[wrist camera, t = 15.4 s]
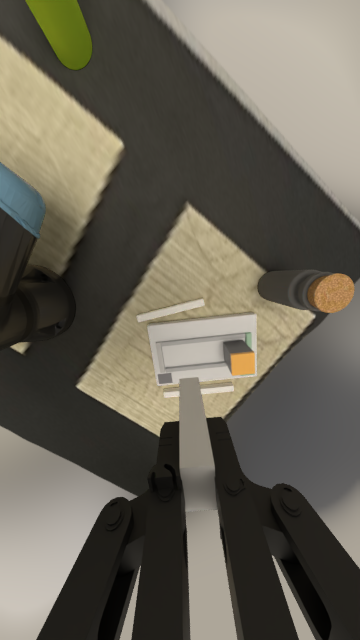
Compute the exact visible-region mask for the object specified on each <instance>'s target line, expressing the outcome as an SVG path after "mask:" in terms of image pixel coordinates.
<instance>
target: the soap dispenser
mask: <svg viewBox="0 0 360 640" xmlns="http://www.w3.org/2000/svg"><path fill="white" fill-rule="evenodd" d="M25 1H26V2H27V4H28V6H29V8H30V10H31V11H32V13H33V15H34V17H35V18H36V20H37V22H38V24H39V25H40V27H41V29H42V31H43V32H44V34H45V36H46V38H47V39H48V41H49V43H50V45H51V46H52V48H53V50H54V52H55V54H56V55H57V57H58V59H59V60H60V62H61V63H62V64H63V65H64V66H66V67H67V68H69V69H72V70H79V69H82V68H83V67H85V66H86V65H87V64H88V62H89V60H90V58H91V54H92V40H91V36H90V33H89V31H88V28H87V26H86V23H85V20H84V18H83V15H82V12H81V10H80V7H79V5H78V2H77V0H25Z"/></svg>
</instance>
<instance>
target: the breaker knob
mask: <svg viewBox="0 0 360 640" xmlns="http://www.w3.org/2000/svg"><path fill="white" fill-rule="evenodd" d="M223 348H224V361H225V362H226V364H227V366H228V368H229V370H230V372H231V374H232V376H235V375H245V374H255V353H254V351H253V350H252V349H251V348H250V347H249V346H248V345H247V344H246V343H245V342H244V341H243V340H239V341H229V342H223Z"/></svg>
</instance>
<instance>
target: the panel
mask: <svg viewBox="0 0 360 640" xmlns="http://www.w3.org/2000/svg"><path fill="white" fill-rule="evenodd" d="M147 328H148V334H149V340H150V346H151V352H152V358H153V363H154V369H155V375H156V381H157V386H162V385H172V384H179V379H182V378H193V377H198V378H199V382H203V381H213V380H223V379H233V378H243V377H253V376H257V348H256V314H255V313H253V312H248V313H239V314H230V315H221V316H212V317H203V318H194V319H185V320H176V321H167V322H158V323H149V324H148V326H147ZM239 340H243V341H244V342H245V343H246V344H247V345H248V346H249V347H250V348H251V349H252V350H253V351H254V353H255V374H245V375H235V376H232V374H231V372H230V370H229V368H228V366H227V364H226V362H225V361H224V348H223V342H229V341H239Z"/></svg>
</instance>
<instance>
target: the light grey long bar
mask: <svg viewBox="0 0 360 640" xmlns="http://www.w3.org/2000/svg"><path fill="white" fill-rule="evenodd" d="M200 389H201V394H209V393H219V392H230V391H234V388H233V384H232V382H228V383H218V384H208V385H200ZM163 393H164V398H168V397H178V396H179V387H177V388H167V389H164V392H163Z"/></svg>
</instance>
